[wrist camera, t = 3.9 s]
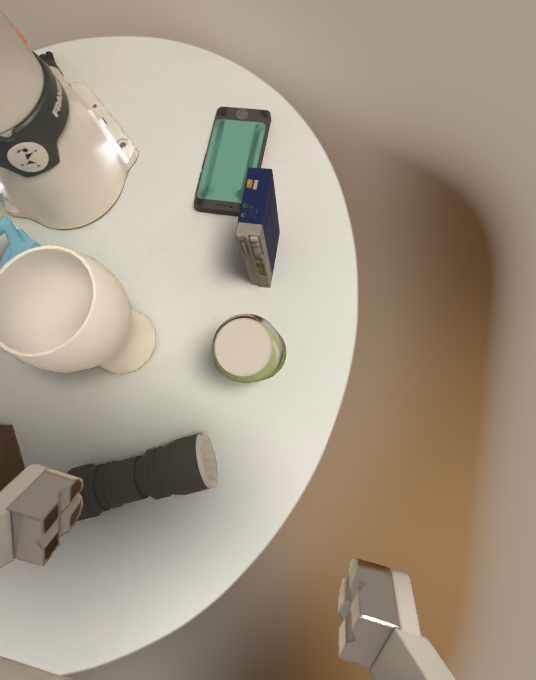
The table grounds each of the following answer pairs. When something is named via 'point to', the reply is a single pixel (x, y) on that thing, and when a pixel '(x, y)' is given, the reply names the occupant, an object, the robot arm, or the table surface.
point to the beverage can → (248, 349)
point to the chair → (14, 240)
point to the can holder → (9, 456)
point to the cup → (69, 314)
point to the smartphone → (231, 158)
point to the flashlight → (148, 475)
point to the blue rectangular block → (258, 226)
